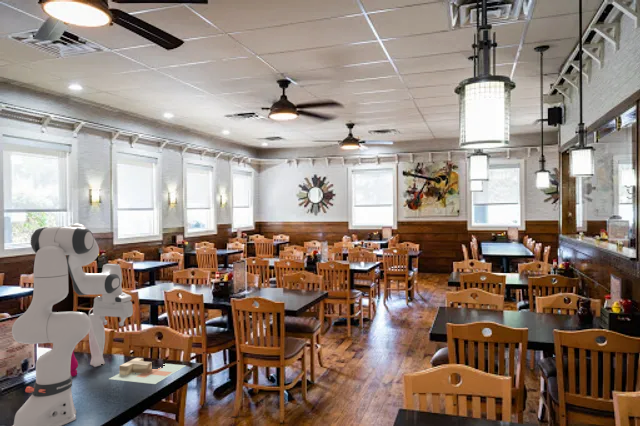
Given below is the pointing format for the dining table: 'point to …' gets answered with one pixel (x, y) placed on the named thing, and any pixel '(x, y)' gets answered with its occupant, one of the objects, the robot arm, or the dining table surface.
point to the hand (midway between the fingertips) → (113, 325)
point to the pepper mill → (73, 365)
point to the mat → (150, 374)
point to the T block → (135, 366)
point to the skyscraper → (96, 340)
